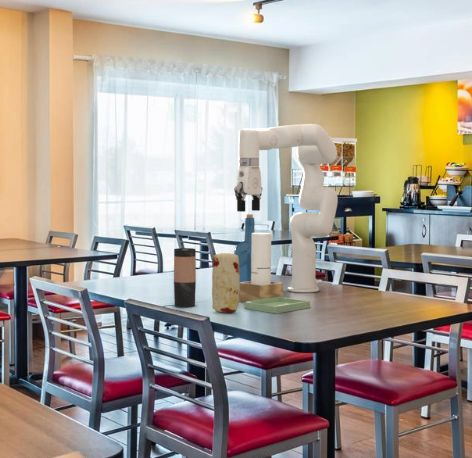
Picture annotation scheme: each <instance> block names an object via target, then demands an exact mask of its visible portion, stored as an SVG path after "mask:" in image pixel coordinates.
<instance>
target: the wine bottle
mask: <svg viewBox="0 0 472 458" xmlns="http://www.w3.org/2000/svg"><path fill="white" fill-rule="evenodd" d="M255 223H256V222H255V217H254V214H252V213H247V214H246V217H245V219H244V237H243V238H244V240H243V241H241V242H240V243H238V244H237V245H236V247H234V250H233V254H235V255H237V256H238V258H239V275H240V282H247V281H251V249H252V233H256V232H255V231H256V230H255V225H256V224H255Z"/></svg>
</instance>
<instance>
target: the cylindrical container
mask: <svg viewBox="0 0 472 458" xmlns="http://www.w3.org/2000/svg"><path fill="white" fill-rule="evenodd" d="M271 281H272V233H271V232H255V233H252V249H251V284H255V285H267V284H271Z"/></svg>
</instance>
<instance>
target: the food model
mask: <svg viewBox="0 0 472 458" xmlns="http://www.w3.org/2000/svg"><path fill="white" fill-rule="evenodd" d="M211 272H212V273H211V274H212V275H211V285H212V286H211V299H212V305H211V306H212V309H213V310H214V311H215V312H218V313H219V312H220V313H228V314H232V313H236V312H237V310H238V308H239V307H238V306H239V303H240V302H239V291H240V275H239V258H238V256H237V255H235V254H234V253H229V252H227V253H226V252H222V253H221V252H220V253H216V254H214V255H213V256H212V271H211Z"/></svg>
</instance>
